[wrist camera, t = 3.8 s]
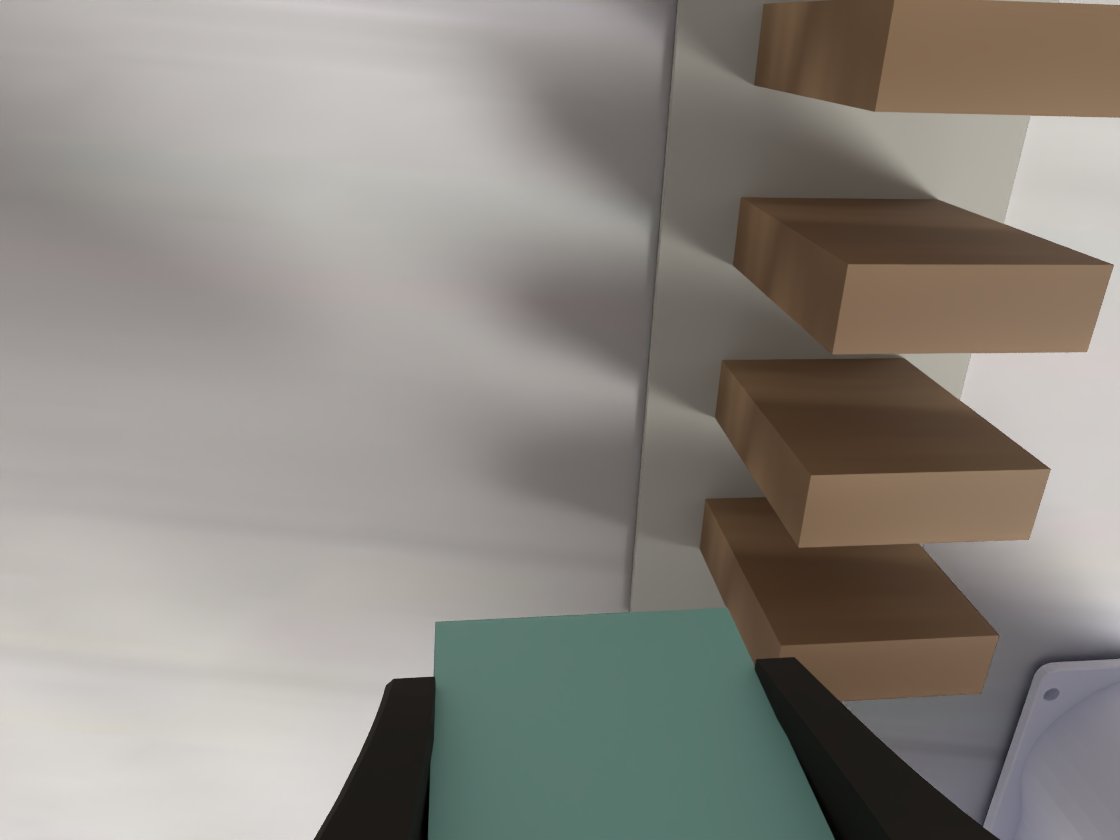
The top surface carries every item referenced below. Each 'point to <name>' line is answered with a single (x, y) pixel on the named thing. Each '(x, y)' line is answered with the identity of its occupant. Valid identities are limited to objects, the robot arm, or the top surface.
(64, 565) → the top surface
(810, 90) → the tile
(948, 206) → the tile
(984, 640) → the tile
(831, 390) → the tile
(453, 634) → the tile
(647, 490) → the runner mat
